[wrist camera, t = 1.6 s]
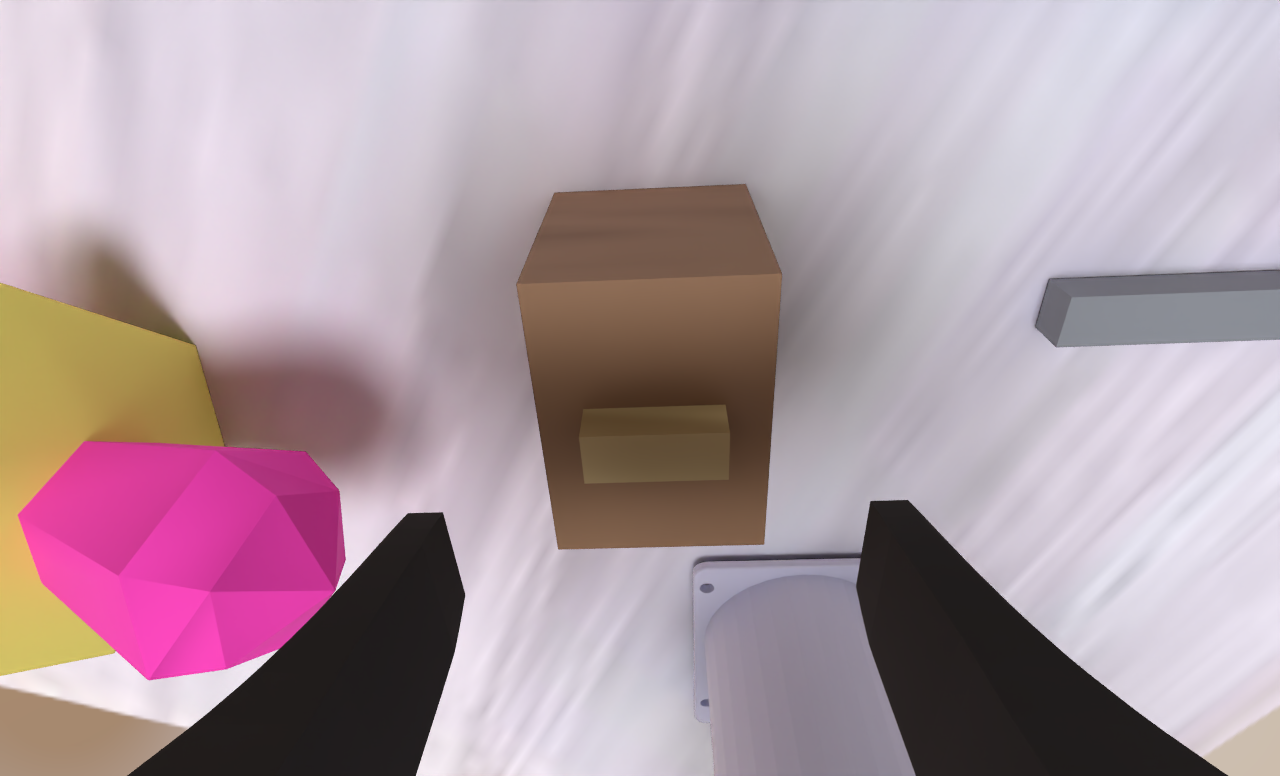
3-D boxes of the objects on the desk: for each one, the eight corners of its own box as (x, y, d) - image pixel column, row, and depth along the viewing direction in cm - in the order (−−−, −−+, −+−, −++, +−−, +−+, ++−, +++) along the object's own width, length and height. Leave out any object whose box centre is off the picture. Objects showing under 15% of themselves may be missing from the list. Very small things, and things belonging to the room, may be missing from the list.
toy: (-201, 149, 18) (-728, 476, 13) (372, 287, 15) (-31, 831, 9) (69, 369, 27) (-183, 625, 21) (481, 493, 23) (303, 845, 17)
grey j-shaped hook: (1358, 315, 19) (1464, 369, 17) (622, 342, 20) (618, 397, 18) (1680, -252, 13) (1929, -303, 10) (584, -179, 14) (569, -209, 11)
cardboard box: (737, 406, 22) (770, 576, 16) (580, 410, 22) (553, 581, 16) (745, 183, 18) (790, 296, 12) (554, 191, 18) (506, 307, 12)
